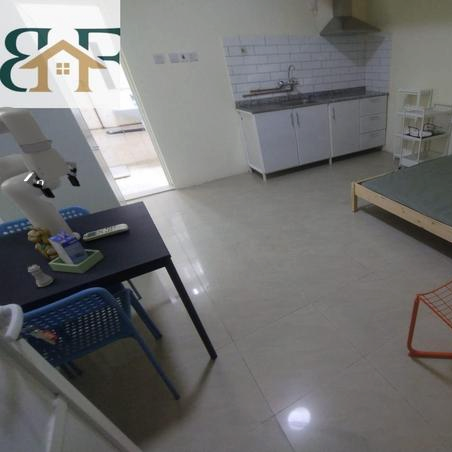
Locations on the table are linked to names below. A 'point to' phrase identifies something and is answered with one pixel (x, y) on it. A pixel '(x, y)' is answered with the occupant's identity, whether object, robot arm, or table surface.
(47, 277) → the rook chess piece
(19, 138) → the robot arm
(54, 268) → the open rectangular box
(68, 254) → the ink cartridge box
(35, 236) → the decorative figurine
